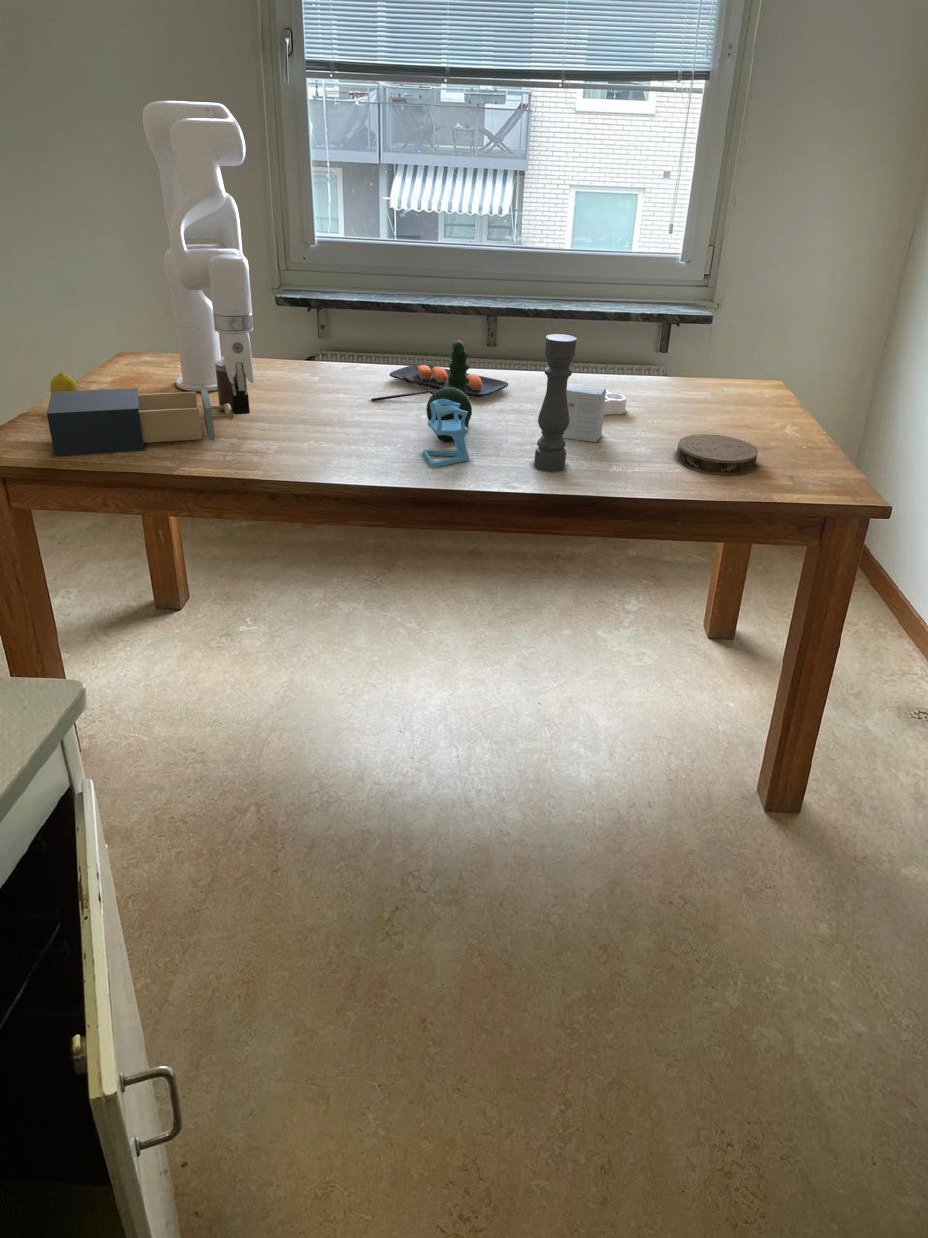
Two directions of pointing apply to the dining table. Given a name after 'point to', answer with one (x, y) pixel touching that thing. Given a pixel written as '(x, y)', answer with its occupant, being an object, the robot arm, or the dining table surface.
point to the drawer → (177, 416)
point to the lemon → (63, 383)
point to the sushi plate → (442, 381)
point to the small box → (585, 412)
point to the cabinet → (95, 421)
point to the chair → (448, 432)
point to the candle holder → (555, 403)
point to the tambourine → (716, 454)
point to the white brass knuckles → (614, 403)
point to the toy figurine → (454, 388)
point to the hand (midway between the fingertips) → (241, 412)
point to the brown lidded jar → (223, 385)
